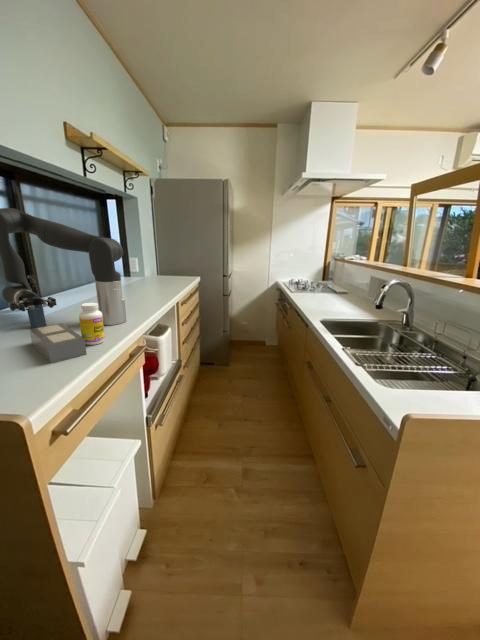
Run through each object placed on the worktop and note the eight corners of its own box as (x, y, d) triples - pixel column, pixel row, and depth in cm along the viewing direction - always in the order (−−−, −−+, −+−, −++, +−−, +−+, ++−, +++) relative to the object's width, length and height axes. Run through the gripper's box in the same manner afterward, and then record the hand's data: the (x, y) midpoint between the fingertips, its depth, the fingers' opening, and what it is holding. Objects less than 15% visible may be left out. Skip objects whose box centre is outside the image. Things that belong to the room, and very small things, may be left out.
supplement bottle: (95, 346, 85) (91, 307, 82) (77, 344, 87) (72, 305, 83) (109, 339, 92) (105, 302, 88) (92, 337, 93) (88, 301, 89)
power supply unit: (64, 337, 92) (61, 322, 91) (86, 354, 80) (84, 337, 78) (31, 343, 86) (29, 328, 84) (50, 363, 73) (47, 345, 72)
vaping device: (48, 324, 104) (41, 294, 101) (34, 328, 99) (27, 296, 96) (43, 324, 105) (36, 293, 102) (29, 328, 100) (22, 296, 97)
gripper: (2, 292, 103) (11, 299, 93) (46, 288, 113) (58, 294, 103) (6, 311, 105) (15, 320, 95) (49, 306, 115) (61, 313, 105)
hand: (38, 306), depth 99 cm, fingers open, 8 cm apart
